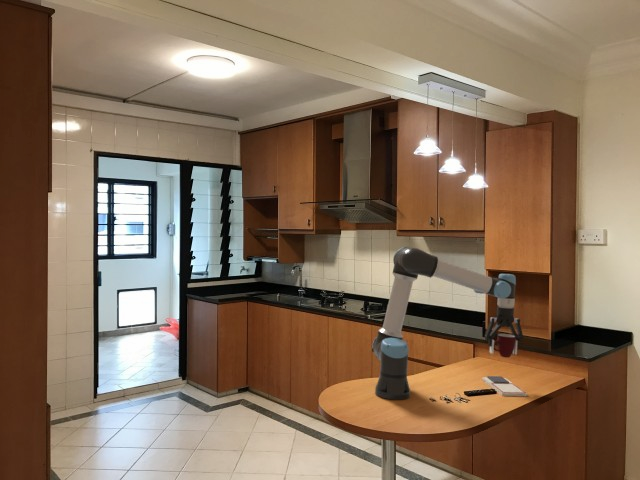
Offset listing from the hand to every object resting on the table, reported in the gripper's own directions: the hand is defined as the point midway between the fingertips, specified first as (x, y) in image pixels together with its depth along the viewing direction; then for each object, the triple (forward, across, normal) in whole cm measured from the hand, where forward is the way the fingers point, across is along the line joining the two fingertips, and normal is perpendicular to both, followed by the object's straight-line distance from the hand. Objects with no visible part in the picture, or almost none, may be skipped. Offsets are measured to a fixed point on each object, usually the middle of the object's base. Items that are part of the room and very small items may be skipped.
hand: (503, 353), depth 242 cm
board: (+15, 0, -2) cm, 16 cm away
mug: (+2, 0, 0) cm, 2 cm away
